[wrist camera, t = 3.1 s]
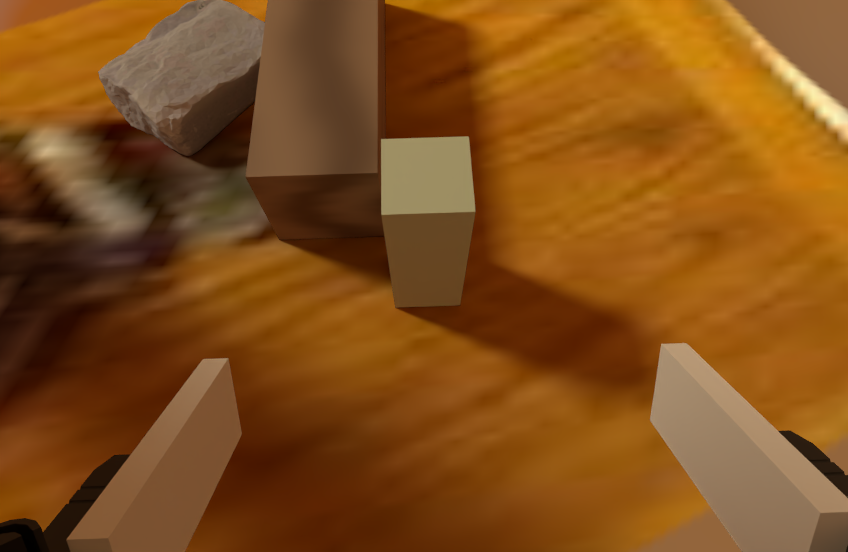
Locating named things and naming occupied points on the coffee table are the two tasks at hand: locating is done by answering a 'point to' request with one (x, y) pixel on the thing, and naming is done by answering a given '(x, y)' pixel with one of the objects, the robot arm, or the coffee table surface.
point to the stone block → (189, 74)
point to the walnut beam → (320, 118)
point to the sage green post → (427, 217)
